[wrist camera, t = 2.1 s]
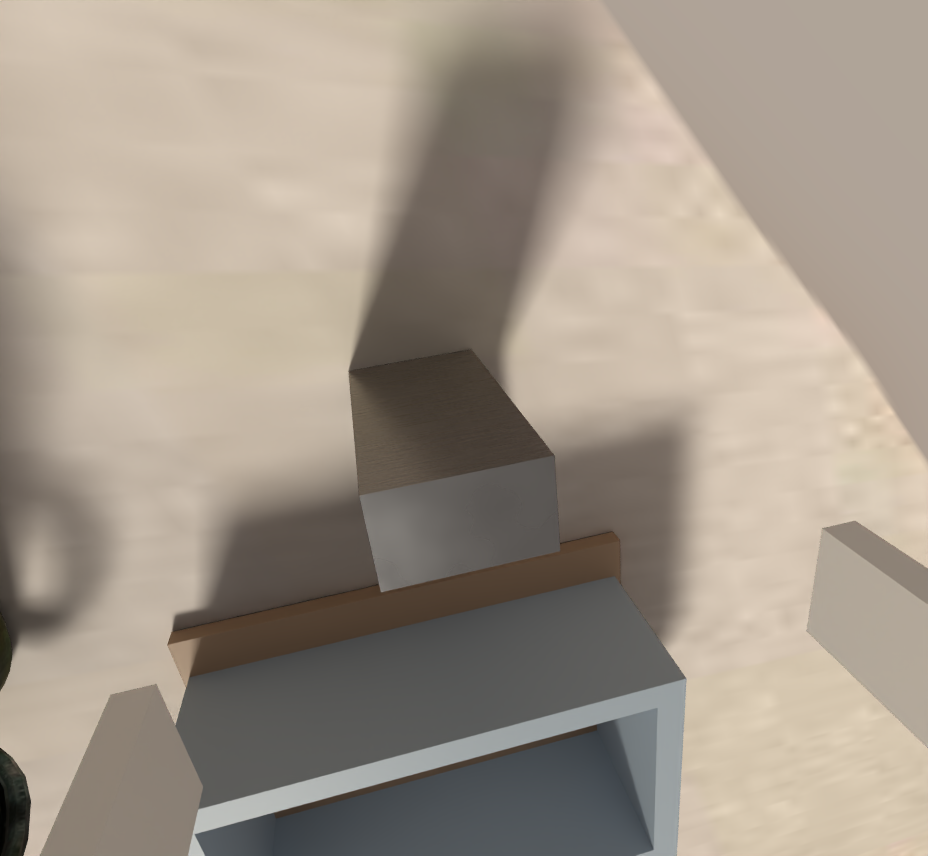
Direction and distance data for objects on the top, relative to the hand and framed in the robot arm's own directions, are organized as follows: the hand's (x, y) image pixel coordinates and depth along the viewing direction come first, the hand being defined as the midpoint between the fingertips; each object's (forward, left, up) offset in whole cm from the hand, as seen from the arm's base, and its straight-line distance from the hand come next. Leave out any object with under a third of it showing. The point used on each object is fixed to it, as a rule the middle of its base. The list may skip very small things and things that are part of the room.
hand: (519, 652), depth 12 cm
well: (+17, -2, -14) cm, 22 cm away
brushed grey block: (+2, 0, -14) cm, 14 cm away
